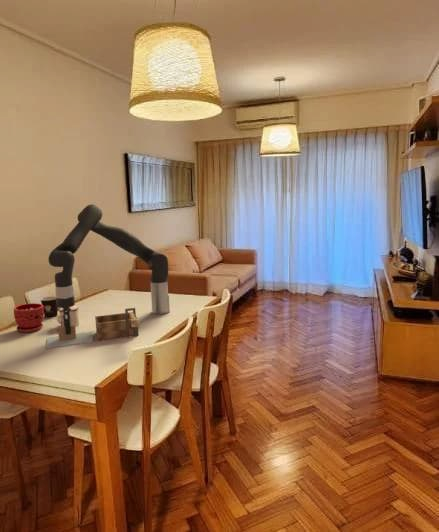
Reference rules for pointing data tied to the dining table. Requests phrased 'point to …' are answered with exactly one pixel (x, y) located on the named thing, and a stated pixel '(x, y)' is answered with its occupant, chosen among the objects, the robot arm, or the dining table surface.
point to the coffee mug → (49, 306)
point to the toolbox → (115, 326)
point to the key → (133, 320)
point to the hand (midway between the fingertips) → (68, 332)
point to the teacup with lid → (73, 316)
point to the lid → (68, 338)
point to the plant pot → (29, 317)
